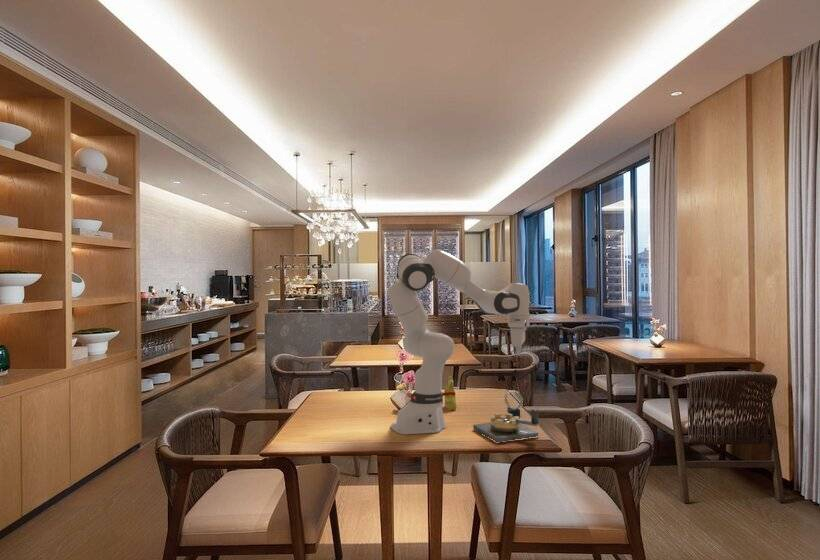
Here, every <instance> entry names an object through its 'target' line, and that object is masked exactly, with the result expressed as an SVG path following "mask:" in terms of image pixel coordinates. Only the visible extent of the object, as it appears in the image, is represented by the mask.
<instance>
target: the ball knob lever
mask: <svg viewBox="0 0 820 560" xmlns="http://www.w3.org/2000/svg"><path fill="white" fill-rule="evenodd" d="M530 410H531V411H530V412H531V413H530V414H531V416H530V417H531V419H530V420H529V419H524V418H520V417H519V416H514V417H513V414H508V413H505V415H502V414H501V413H499V412H497V413H493V415H490V416H489V417H490V422H491V429H493V430H495V431H499V432H515V431H518V430H519V424H521V425H526V426H533V427H537V426H539V409H538V408H537V409H535V408H532V409H530Z"/></svg>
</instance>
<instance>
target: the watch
mask: <svg viewBox="0 0 820 560" xmlns="http://www.w3.org/2000/svg"><path fill="white" fill-rule="evenodd" d="M511 393H514V394H515V397H516V398H517V400H518V401H519V404H518V405H516V406H511V405H510V404H509V402H508V398H507V397H508V395H510V394H511ZM523 401H524V399H523V396H522V395H521V394H520V392H519V390H513V389H510V390H509V391H507V392H506V393H505V395H504V402H505V404H506V405H507V410H506V411H507V412H508V414H513V416H520V417H521V409H520V408H521V407H522V406H523V403H524V402H523Z"/></svg>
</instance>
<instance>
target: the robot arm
mask: <svg viewBox="0 0 820 560" xmlns="http://www.w3.org/2000/svg"><path fill="white" fill-rule="evenodd" d="M396 266H397V268H396V279H398V280H397V281H396V282H395V283H393V284H392V285H391V286H390V287H389V289H388V290H387V291H388V292H387V293H388V299H389V301H390V303H391V307H392V308H393V311H394V313H395V314H396V317H397V318H398V320H399V322H400V324H401V326H402V328H403V331H404V337H403V341H402V346H403V349H404V351H406V353H408V354H410V355H412V356H414V357H418V358H422V361H421V362H422V363H421V365H420V368H418V369H417V370H416V371H415V373H414V391H413V392H410V391H408V392H407V393H406V396H407V398H409V399H410V401H409V402H407V404H406V405H404V406H403V407H402V408H401V409H399V410H398V411H397V415H396V420H395V421H394V422H392V423H391V425H390V428H391V429H392V430H393V432H394V433H397V434H399V435H405V436H406V435H419V434H434V433H440V432H441V431H442V430H444V428H446V427H447V425H446V422H445V421H446V420H445V418H444V411H443V402H444V396H443V393H444V392H443V391H442V389H443V388H442V385H443V384H442V383H443V380H442V379H443V371H444V367H445V365H446V362H447V361H448V360H449V359H450V358H451V357H452V356H453V355H454V352H455V347H456V346H455V342H454V340H453V338H452V337H451V336H449V335H447V334H445V333H441V332H436V331H435V332H434V331H430V330H429V329H428V328H427V322H428V320H429V316H428V313H427V310H426V309H425V306H424V305H423V303H422V302H421V299H420V297H419V296H418V293H417V292H419V291H422V290H425V288H427V286H429V284H430V283H431V282H433V281H434V280H435V279H437V280H439V281H440V282H442V283H443V284H445V285H446V286H447V287H450V288H453V290H454V289H455V290H456V291H458V292H460V293H462V295H465V296H466V297H467V298H469V299H470V300H472V301H473V302H474V303H475V305H476V306H477V307H478V309H479V311H481V312H482V313H484V314H487V315H488V314H489V315H490V314H493V315H494V314H495V315H507V326H508V327H509V331H510V341H511V345H512V347H515V350H516V352H515V354H516V355H517V356H521V354H522V348H523V345H524V343H525V341H526V331H527V327H530V323H531V322H530V321H531V319H530V317H531V316H530V315H531V313H530V311H529V309H530V301H531V299H530V290H529V287H528V285H526V284H525V283H520V282H511V283H509V284H508V285H507V286H505V287H504V288H502V289H500V290H491V289H490V290H489V289H484V288H482V287H481V286H479V285H478V284H476V283H475V282H473V281H472V279H471V278H472V270H471V269H470V267H469V266H468V265H467V264H466V263H465V262H464V261H462V260H460V259H459V258H457V257H456V256H454V255H452V254H450V253H449V252H446V251H444V250H441V249H433V250H431V251H430V252H429V253H428V254H427V256H425V258H424V257H423V258H421V257H420V255H417V254H415V253H406V254H404V255H402V256H400V258H399V259H398V262H397V265H396Z"/></svg>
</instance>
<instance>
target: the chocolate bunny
mask: <svg viewBox="0 0 820 560" xmlns="http://www.w3.org/2000/svg"><path fill="white" fill-rule="evenodd" d="M443 399H444V406H445V408H446V409H447V410H448V411H455V409H456V410H457V402H456V400H457V398H456V392H455V387H454V379H453V377H452V376H451V375H450V376H448V377H447V381H446V383H445V387H444V392H443Z"/></svg>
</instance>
